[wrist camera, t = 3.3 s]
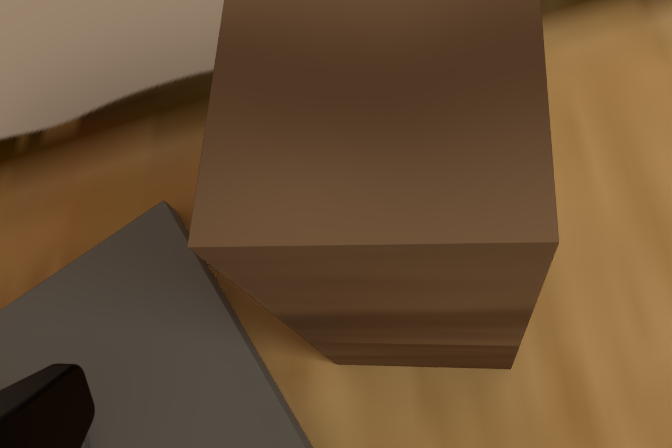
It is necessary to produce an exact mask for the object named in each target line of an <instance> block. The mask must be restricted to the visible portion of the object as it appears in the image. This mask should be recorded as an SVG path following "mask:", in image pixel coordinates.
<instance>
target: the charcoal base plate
mask: <svg viewBox="0 0 672 448" xmlns="http://www.w3.org/2000/svg"><path fill="white" fill-rule="evenodd" d="M188 240H189V233H188V231H187V230H186V228H185V226H184V224H183V223H182V221H181V219H180V217H179V216H178V214H177V212H176V211H175V210H174V209H173V208H172V207H171V206H170V205H169V204H168V203H166V202H165V201H164V200H163V201H162V202H161V203H159V204H158V205H156V206H155V207H153V208H152V209H150V210H149V211H147V212H146V213H144V214H143V215H141V216H140V217H138V218H137V219H135V220H134V221H132V222H131V223H129V224H128V225H126V226H125V227H123V228H122V229H120V230H119V231H117V232H116V233H114V234H113V235H112V236H110V237H109V238H107V239H106V240H104V241H103V242H101V243H100V244H98V245H97V246H95V247H94V248H92V249H91V250H89V251H88V252H86V253H85V254H83V255H82V256H80V257H79V258H77V259H76V260H74V261H73V262H71V263H70V264H68V265H67V266H65V267H64V268H63V269H61V270H60V271H58V272H57V273H55V274H54V275H52V276H51V277H49V278H48V279H46V280H45V281H43V282H42V283H40V284H39V285H37V286H36V287H34V288H33V289H31V290H30V291H28V292H27V293H25V294H24V295H22V296H21V297H19V298H18V299H16V300H15V301H14V302H12V303H11V304H9V305H8V306H6V307H5V308H3V309H2V310H0V390H2V389H4V388H6V387H8V386H10V385H12V384H14V383H16V382H18V381H20V380H22V379H24V378H26V377H28V376H30V375H32V374H34V373H36V372H38V371H40V370H42V369H44V368H46V367H48V366H50V365H52V364H56V363H64V364H77V365H79V366H80V367H81V368H82V369H83V371H84V373H85V376H86V379H87V382H88V385H89V389H90V392H91V395H92V398H93V401H94V405H95V415H94V419H93V422H92V424H91V427H90V429H89V431H88V436H89V440H90V448H313V447H312V446H311V444H310V442H309V440H308V439H307V437H306V435H305V434H304V432H303V430H302V428H301V427H300V425H299V423H298V421H297V420H296V418H295V416H294V414H293V413H292V411H291V409H290V408H289V406H288V404H287V402H286V401H285V399H284V397H283V395H282V394H281V392H280V390H279V389H278V387H277V385H276V383H275V382H274V380H273V378H272V376H271V375H270V373H269V371H268V370H267V368H266V366H265V364H264V363H263V361H262V359H261V357H260V356H259V354H258V352H257V351H256V349H255V347H254V345H253V344H252V342H251V340H250V338H249V337H248V335H247V333H246V332H245V330H244V328H243V326H242V325H241V323H240V321H239V319H238V318H237V316H236V314H235V312H234V311H233V309H232V307H231V306H230V304H229V302H228V300H227V299H226V297H225V295H224V293H223V292H222V290H221V288H220V287H219V285H218V283H217V281H216V280H215V278H214V276H213V274H212V273H211V271H210V269H209V268H208V266H207V264H206V262H205V261H204V260H203V259H202V258H201V257H199V256H198V255H197V254H195V253H194V252H193V251H192V250H190V249H189V248H188Z"/></svg>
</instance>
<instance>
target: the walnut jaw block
mask: <svg viewBox="0 0 672 448" xmlns="http://www.w3.org/2000/svg"><path fill="white" fill-rule="evenodd" d="M558 244H559V235H558V222H557V209H556V196H555V183H554V170H553V157H552V144H551V131H550V118H549V104H548V91H547V78H546V65H545V52H544V39H543V26H542V13H541V0H224V5H223V12H222V18H221V25H220V32H219V38H218V45H217V53H216V59H215V65H214V72H213V79H212V85H211V92H210V99H209V106H208V112H207V119H206V126H205V133H204V139H203V146H202V153H201V159H200V166H199V173H198V180H197V186H196V193H195V200H194V206H193V213H192V220H191V227H190V233H189V240H188V248H189V249H190V250H192V251H193V252H194V253H195V254H197V255H198V256H199V257H201V258H202V259H203V260H204V261H206V262H207V263H208V264H209V265H211V266H212V267H213V268H215V269H216V270H217V271H218V272H220V273H221V274H222V275H224V276H225V277H226V278H227V279H229V280H230V281H231V282H232V283H234V284H235V285H236V286H238V287H239V288H240V289H241V290H243V291H244V292H245V293H247V294H248V295H249V296H250V297H252V298H253V299H254V300H255V301H257V302H258V303H259V304H261V305H262V306H263V307H264V308H266V309H267V310H268V311H270V312H271V313H272V314H273V315H275V316H276V317H277V318H278V319H280V320H281V321H282V322H284V323H285V324H286V325H287V326H289V327H290V328H291V329H293V330H294V331H295V332H296V333H298V334H299V335H300V336H301V337H303V338H304V339H305V340H307V341H308V342H309V343H310V344H312V345H313V346H314V347H316V348H317V349H318V350H319V351H321V352H322V353H323V354H324V355H326V356H327V357H328V358H330V359H331V360H332V361H333V362H335V363H336V364H339V365H377V366H414V367H452V368H490V369H511V367H512V365H513V362H514V359H515V357H516V354H517V352H518V349H519V346H520V344H521V341H522V338H523V336H524V333H525V330H526V328H527V325H528V323H529V320H530V317H531V315H532V312H533V309H534V307H535V304H536V301H537V299H538V296H539V294H540V291H541V288H542V286H543V283H544V280H545V278H546V275H547V272H548V270H549V267H550V265H551V262H552V259H553V257H554V254H555V251H556V249H557V246H558Z"/></svg>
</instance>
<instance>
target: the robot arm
mask: <svg viewBox="0 0 672 448" xmlns="http://www.w3.org/2000/svg"><path fill="white" fill-rule="evenodd" d="M94 415H95V405H94V401H93V398H92V395H91V392H90V389H89V385H88V382H87V379H86V376H85V373H84V371H83V369H82V368H81V367H80V366H79V365H77V364H64V363H56V364H52V365H50V366H48V367H46V368H44V369H42V370H40V371H38V372H36V373H34V374H32V375H30V376H28V377H26V378H24V379H22V380H20V381H18V382H16V383H14V384H12V385H10V386H8V387H6V388H4V389H2V390H0V448H81V447H82V445H83V442H84V440H85V438H86V436H87V433H88V431H89V429H90V427H91V424H92V422H93V419H94Z"/></svg>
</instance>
